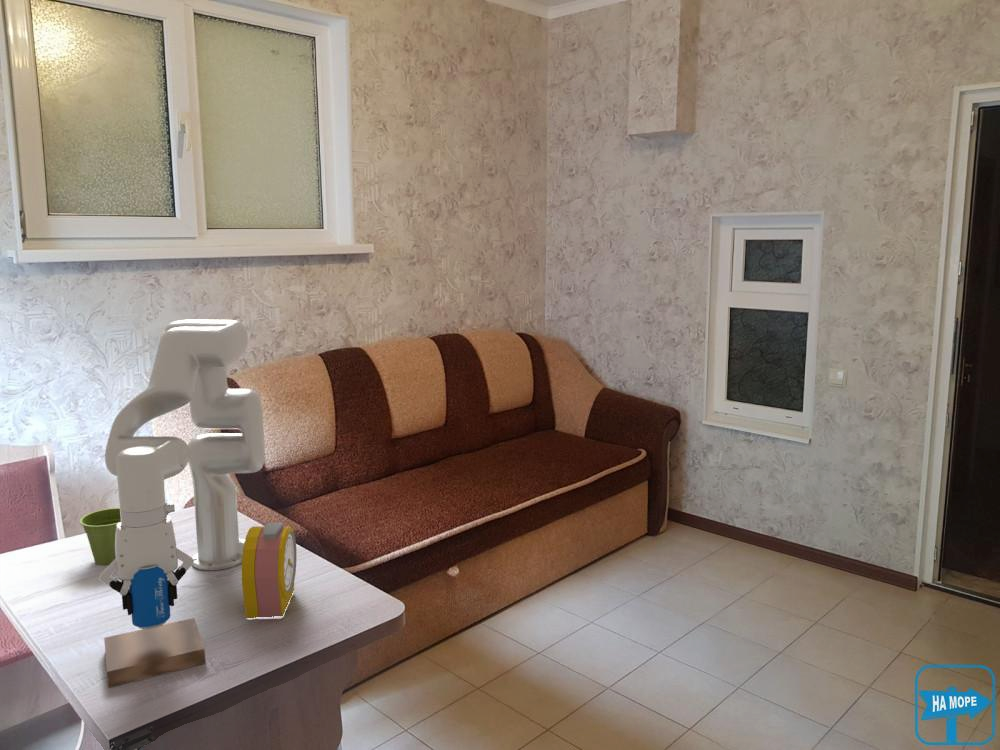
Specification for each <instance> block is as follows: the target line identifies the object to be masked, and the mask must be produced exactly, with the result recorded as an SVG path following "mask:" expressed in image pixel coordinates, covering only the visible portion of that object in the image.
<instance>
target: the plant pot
mask: <svg viewBox="0 0 1000 750" xmlns="http://www.w3.org/2000/svg"><path fill="white" fill-rule="evenodd" d="M120 522H121V518H120V507H112V508H104V509H100V510H99V509H98V510H95V511H92V512H89V513H87V514H85V515H83V516H82V517H81V518H80V520H79V523H80V525H82V527H83V530H84V532H85V534H86V537H87V540H88V543H89V546H90V550H91V553H92V556H93V560H94V563H95V564H96V565H100V566H103V567H108V566H109V565H110V564H111V563H112V562H113V561H114V559H115V533H116V526H117V524H118V523H120Z"/></svg>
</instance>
